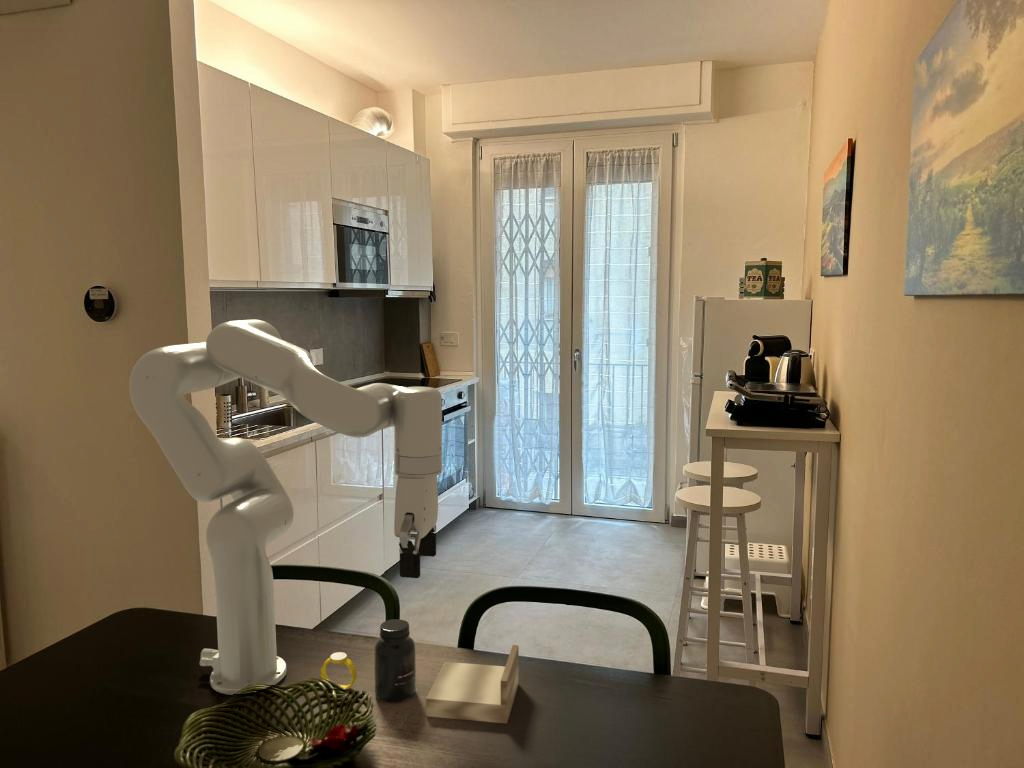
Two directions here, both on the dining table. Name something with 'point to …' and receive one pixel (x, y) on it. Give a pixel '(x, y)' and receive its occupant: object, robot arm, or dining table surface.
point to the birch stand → (475, 691)
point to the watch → (337, 658)
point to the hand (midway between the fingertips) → (418, 565)
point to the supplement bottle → (394, 662)
